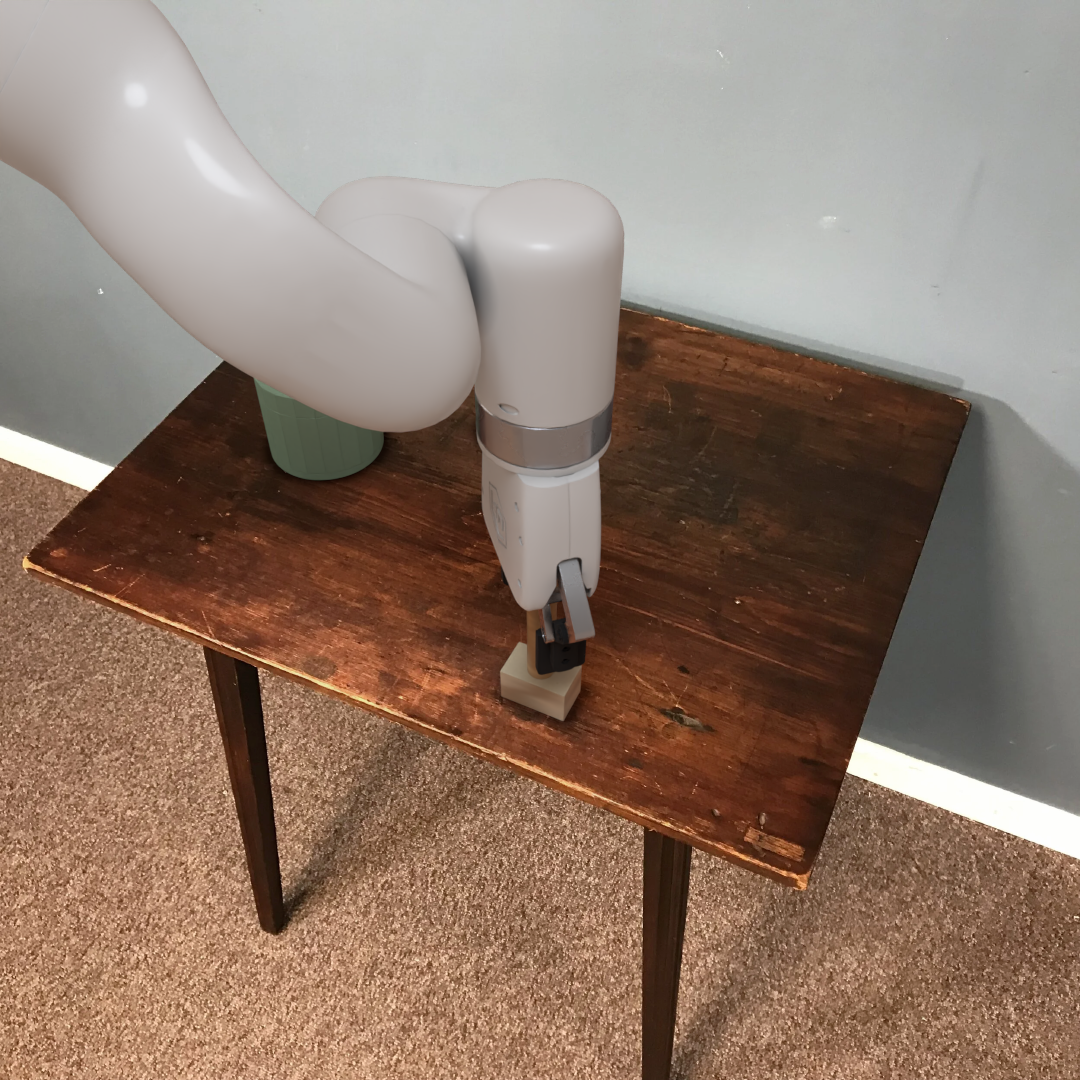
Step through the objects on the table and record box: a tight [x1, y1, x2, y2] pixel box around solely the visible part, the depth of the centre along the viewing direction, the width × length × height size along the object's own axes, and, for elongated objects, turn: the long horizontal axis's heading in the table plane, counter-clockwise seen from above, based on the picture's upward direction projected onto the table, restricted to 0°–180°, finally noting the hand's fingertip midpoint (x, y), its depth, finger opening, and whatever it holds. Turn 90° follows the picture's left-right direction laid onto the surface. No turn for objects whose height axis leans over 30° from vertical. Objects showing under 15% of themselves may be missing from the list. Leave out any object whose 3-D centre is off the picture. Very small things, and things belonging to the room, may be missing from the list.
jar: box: [253, 378, 385, 481], centre depth 92 cm, size 10×10×9 cm
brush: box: [499, 579, 583, 722], centre depth 71 cm, size 5×3×13 cm, turn 64°
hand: (541, 619), depth 69 cm, fingers open, 7 cm apart
